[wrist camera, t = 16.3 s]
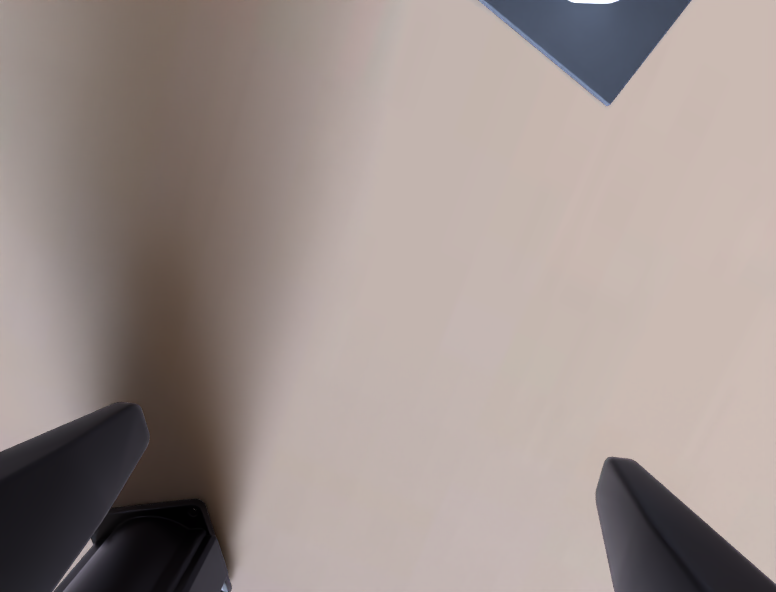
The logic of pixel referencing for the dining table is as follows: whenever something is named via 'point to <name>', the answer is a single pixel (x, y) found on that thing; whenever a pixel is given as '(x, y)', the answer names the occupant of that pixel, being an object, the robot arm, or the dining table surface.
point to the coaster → (592, 36)
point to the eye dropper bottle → (593, 1)
